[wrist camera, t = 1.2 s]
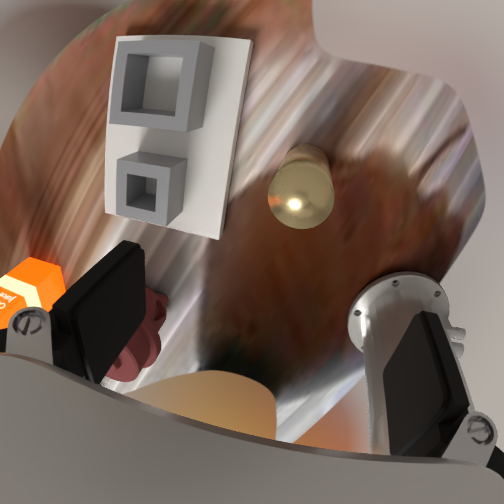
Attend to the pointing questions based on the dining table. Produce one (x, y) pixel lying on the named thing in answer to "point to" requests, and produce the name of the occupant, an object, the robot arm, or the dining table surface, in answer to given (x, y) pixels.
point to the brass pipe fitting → (302, 188)
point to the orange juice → (29, 288)
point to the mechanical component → (142, 341)
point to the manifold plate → (174, 129)
